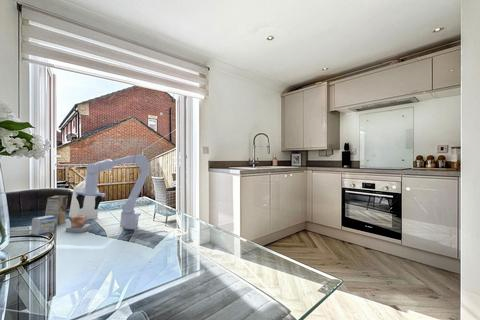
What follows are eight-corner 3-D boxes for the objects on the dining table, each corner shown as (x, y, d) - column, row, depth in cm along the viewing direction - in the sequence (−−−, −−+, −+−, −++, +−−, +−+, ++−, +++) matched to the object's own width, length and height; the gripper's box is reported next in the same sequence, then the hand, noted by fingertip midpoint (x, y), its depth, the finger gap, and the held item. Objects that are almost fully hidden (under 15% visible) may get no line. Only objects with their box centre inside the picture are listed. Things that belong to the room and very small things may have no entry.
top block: (90, 228, 125) (90, 224, 125) (82, 232, 117) (82, 228, 117) (74, 227, 124) (75, 223, 124) (65, 231, 116) (65, 227, 116)
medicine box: (37, 237, 108) (39, 219, 108) (29, 236, 109) (32, 217, 109) (54, 233, 116) (56, 216, 116) (46, 231, 117) (48, 214, 117)
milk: (97, 218, 149) (102, 178, 149) (77, 220, 139) (82, 178, 140) (88, 214, 155) (92, 176, 156) (68, 216, 146) (73, 175, 146)
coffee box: (52, 223, 130) (56, 194, 131) (65, 223, 132) (68, 195, 132) (43, 227, 122) (46, 197, 122) (57, 228, 123) (60, 198, 123)
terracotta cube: (85, 224, 124) (86, 215, 124) (82, 227, 119) (83, 217, 119) (74, 224, 122) (75, 215, 123) (70, 227, 118) (71, 217, 118)
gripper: (73, 184, 125) (70, 209, 124) (102, 186, 127) (99, 211, 127) (80, 183, 132) (77, 206, 131) (107, 185, 134) (104, 208, 134)
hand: (88, 208), depth 130 cm, fingers open, 7 cm apart
